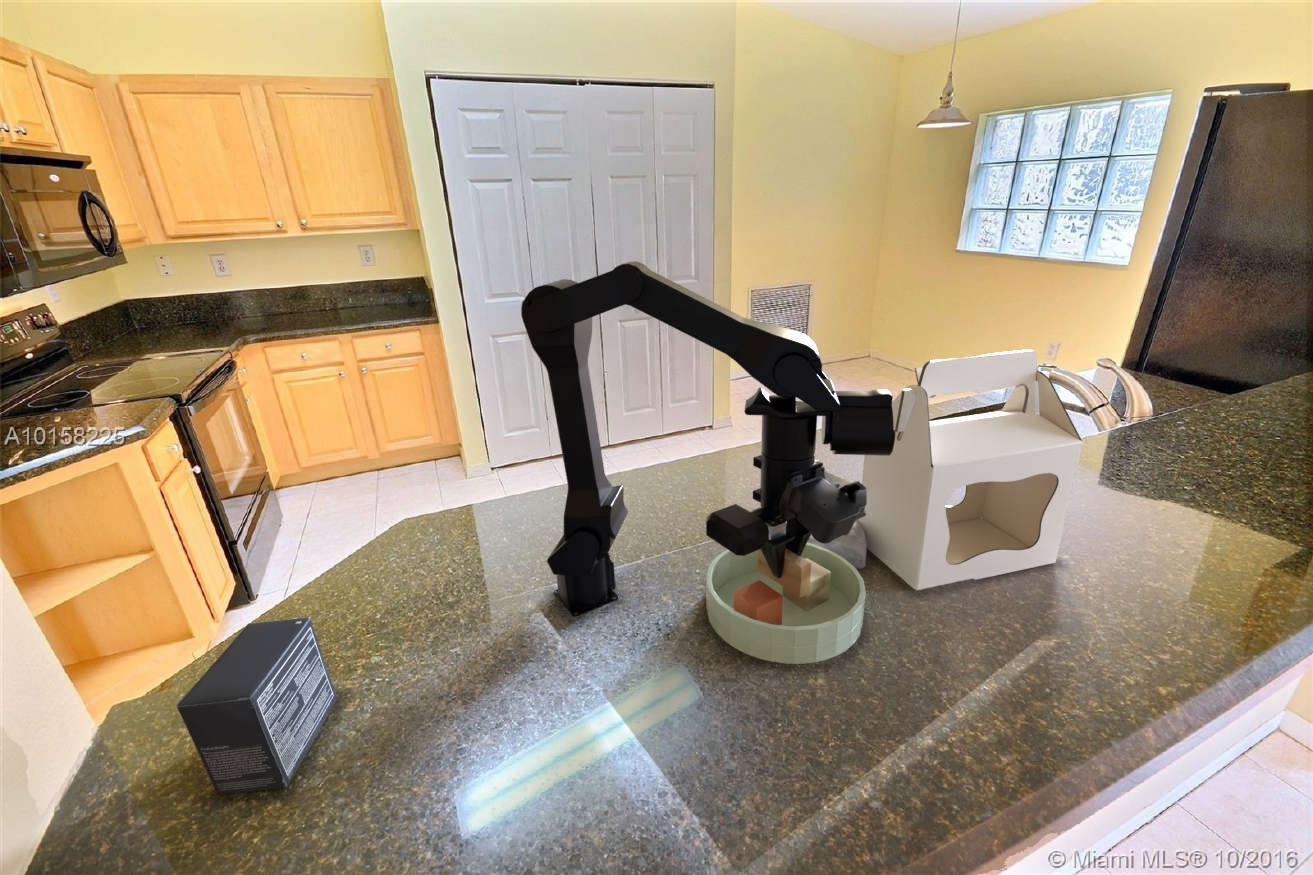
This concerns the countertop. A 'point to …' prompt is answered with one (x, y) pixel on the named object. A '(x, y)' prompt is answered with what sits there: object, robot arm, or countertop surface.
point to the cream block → (813, 588)
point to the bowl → (787, 610)
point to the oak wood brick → (790, 572)
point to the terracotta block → (759, 603)
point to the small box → (260, 706)
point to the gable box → (972, 475)
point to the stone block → (848, 546)
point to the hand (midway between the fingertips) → (783, 574)
